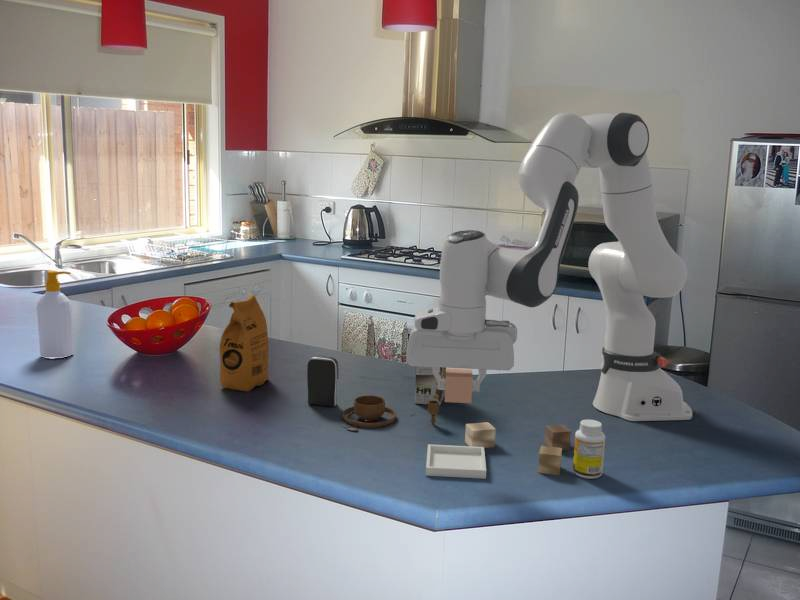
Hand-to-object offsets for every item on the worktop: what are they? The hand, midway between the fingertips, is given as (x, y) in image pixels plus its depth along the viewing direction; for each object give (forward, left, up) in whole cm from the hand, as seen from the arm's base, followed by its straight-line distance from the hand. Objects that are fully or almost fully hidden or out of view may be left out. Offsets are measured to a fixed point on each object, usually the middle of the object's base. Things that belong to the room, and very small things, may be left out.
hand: (458, 389), depth 147 cm
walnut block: (-21, -12, -15) cm, 29 cm away
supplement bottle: (-25, +1, -16) cm, 29 cm away
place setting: (+16, -21, -16) cm, 31 cm away
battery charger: (+31, -31, -15) cm, 46 cm away
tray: (0, 0, -15) cm, 15 cm away
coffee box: (+6, -38, -16) cm, 42 cm away
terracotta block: (0, 0, -2) cm, 2 cm away
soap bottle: (+110, -60, -15) cm, 126 cm away
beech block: (-5, -11, -15) cm, 20 cm away
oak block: (-18, 0, -15) cm, 24 cm away
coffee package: (+53, -43, -16) cm, 70 cm away
